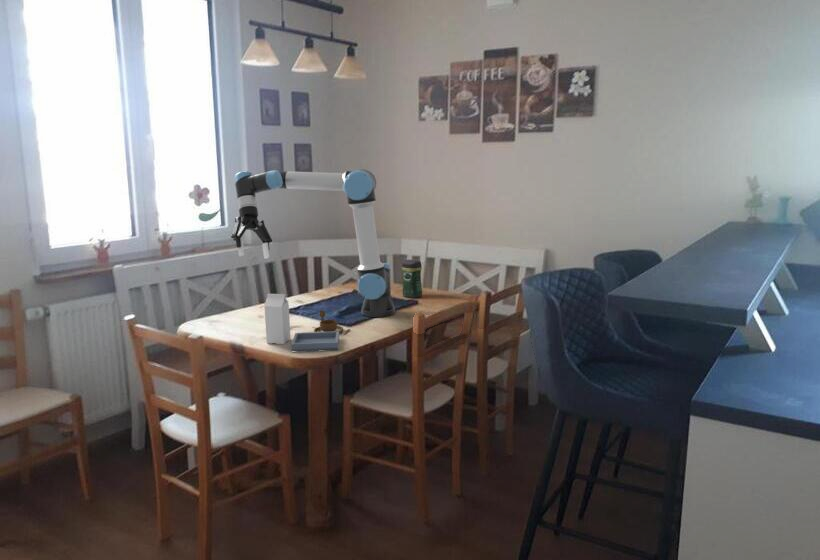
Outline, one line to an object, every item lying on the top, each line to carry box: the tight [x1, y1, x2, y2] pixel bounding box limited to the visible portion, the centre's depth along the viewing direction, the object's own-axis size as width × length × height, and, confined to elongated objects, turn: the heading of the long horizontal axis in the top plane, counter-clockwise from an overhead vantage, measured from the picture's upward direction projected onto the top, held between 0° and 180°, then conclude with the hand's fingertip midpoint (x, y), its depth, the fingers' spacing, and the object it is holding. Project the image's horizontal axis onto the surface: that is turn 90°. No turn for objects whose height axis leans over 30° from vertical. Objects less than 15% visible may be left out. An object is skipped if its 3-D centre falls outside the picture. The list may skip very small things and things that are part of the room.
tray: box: [291, 330, 340, 352], centre depth 247 cm, size 17×15×3 cm
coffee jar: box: [401, 259, 423, 299], centre depth 323 cm, size 10×8×19 cm
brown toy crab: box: [312, 310, 351, 336], centre depth 268 cm, size 18×20×6 cm
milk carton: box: [264, 293, 292, 345], centre depth 251 cm, size 7×7×19 cm
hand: (254, 256), depth 267 cm, fingers open, 13 cm apart
